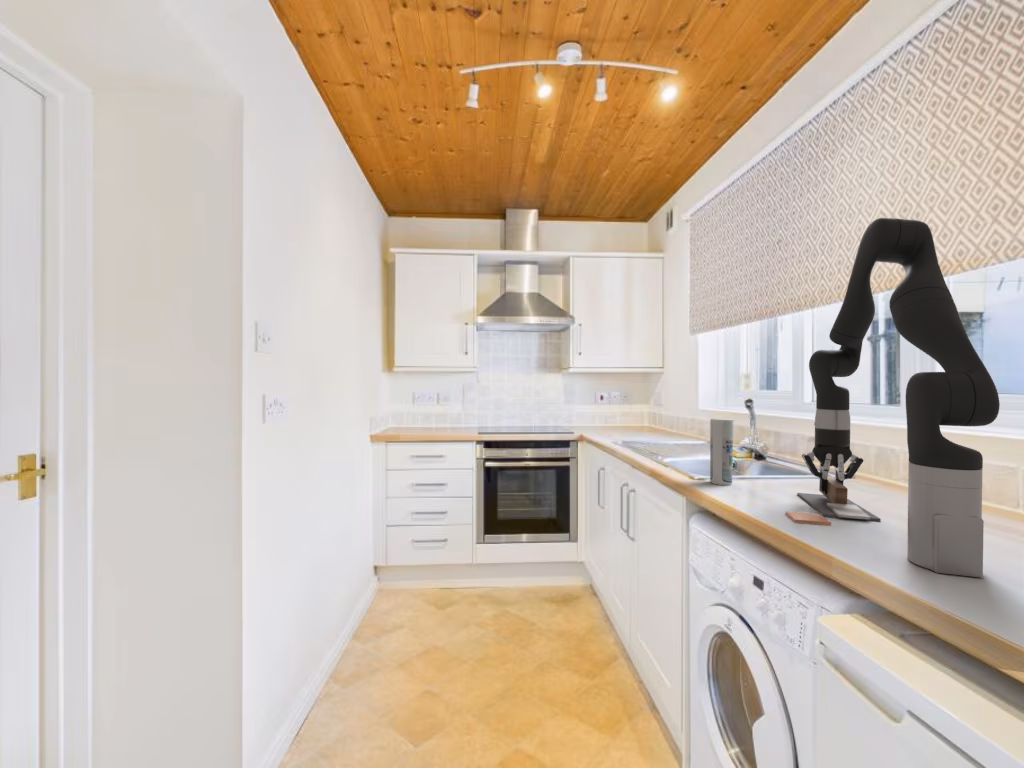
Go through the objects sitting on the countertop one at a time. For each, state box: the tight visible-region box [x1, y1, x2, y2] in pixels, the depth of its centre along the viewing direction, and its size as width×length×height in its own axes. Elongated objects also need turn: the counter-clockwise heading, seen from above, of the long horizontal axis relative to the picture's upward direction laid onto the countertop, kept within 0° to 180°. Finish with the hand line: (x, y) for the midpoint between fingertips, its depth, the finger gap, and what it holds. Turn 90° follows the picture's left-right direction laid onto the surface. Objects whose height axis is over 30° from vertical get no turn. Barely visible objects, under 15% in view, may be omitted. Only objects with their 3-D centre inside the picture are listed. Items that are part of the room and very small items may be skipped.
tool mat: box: [797, 492, 882, 522], centre depth 116 cm, size 22×11×1 cm, turn 162°
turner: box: [818, 474, 870, 519], centre depth 113 cm, size 20×6×4 cm, turn 162°
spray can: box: [709, 417, 734, 486], centre depth 142 cm, size 6×6×20 cm
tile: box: [784, 510, 832, 526], centre depth 105 cm, size 1×7×7 cm
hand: (831, 493), depth 118 cm, fingers closed on turner, 2 cm apart
